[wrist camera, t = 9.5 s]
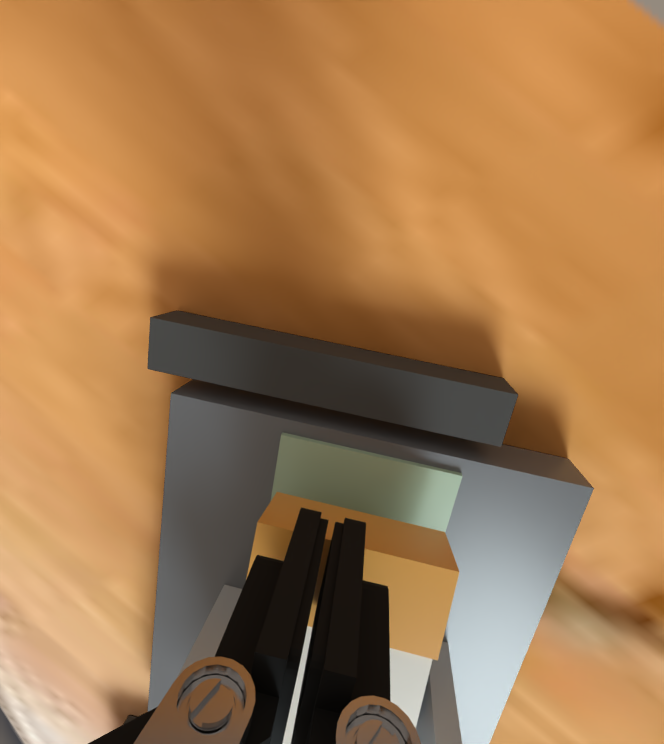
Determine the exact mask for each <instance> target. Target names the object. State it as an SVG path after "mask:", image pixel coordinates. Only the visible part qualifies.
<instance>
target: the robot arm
mask: <svg viewBox="0 0 664 744" xmlns="http://www.w3.org/2000/svg"><path fill="white" fill-rule="evenodd" d="M321 514H322V512H319V511H315V510H310V509H306V508H302V507H301V509H300V512H299V515H298V518H297V521H296V524H295V527H294V530H293V534H292V537H291V540H290V543H289V546H288V549H287V553H286V556H285V559H284V561H281V560H277V559H273V558H269V557H265V556H261V555H257V556H256V558H255V560H254V562H253V564H252V567H251V569H250V572H249V574H248V577H247V579H246V581H245V584H244V586H243V589H242V591H241V594H240V596H239V598H238V601H237V603H236V606H235V608H234V611H233V613H232V615H231V618H230V620H229V623H228V625H227V628H226V630H225V632H224V635H223V637H222V640H221V642H220V644H219V647H218V649H217V652H216V654H215V657H208V658H205V659H202V660H199V661H196V662H195V663H193V664H192V665H190V666H189V667H187V668H186V669H184V670H183V672H182V673H181V674H180V675H179V676H178V677H177V679H176V680H175V681H174V683H173V684H172V686H171V687H170V689H169V690H168V692H167V693H166V695H165V696H164V698H163V699H162V701H161V702H160V704H159V705H158V707H156V708H154V709H152V710H150V711H148V712H147V713H145V714H143V715H141V716H139V717H137V718H135V719H133V720H132V721H130V722H128V723H126V724H124V725H122V726H120V727H118V728H117V729H115V730H113V731H111V732H109V733H107V734H105V735H103V736H102V737H100V738H98V739H96V740H94V741H92V742H90V743H88V744H282V743H283V739H284V734H285V730H286V725H287V720H288V716H289V711H290V707H291V702H292V697H293V693H294V688H295V684H296V679H297V675H298V670H299V665H300V660H301V656H302V651H303V646H304V641H305V636H306V631H307V626H308V621H309V616H310V611H311V606H312V601H313V596H314V591H315V586H316V581H317V576H318V571H319V566H320V561H321V556H322V551H323V546H324V541H325V536H326V531H327V526H328V521H329V520H327V519H322V518H321ZM365 536H366V522H362V521H357V520H353V519H349V518H345V519H344V523H339V522H335V526H334V530H333V535H332V539H331V544H330V548H329V553H328V557H327V562H326V566H325V571H324V575H323V580H322V584H321V589H320V593H319V598H318V602H317V607H316V612H315V616H314V622H313V627H312V632H311V638H310V643H309V648H308V654H307V659H306V664H305V670H304V675H303V681H302V686H301V691H300V697H299V702H298V707H297V713H296V718H295V723H294V729H293V734H292V739H291V744H421V742H420V739H419V736H418V733H417V730H416V728H415V727H414V725H413V723H412V722H411V720H410V718H409V717H408V716H407V715H406V714H405V713H404V712H403V711H402V710H401V709H400V708H399V707H398V706H397V705H395V704H394V703H392V702H391V700H390V634H389V589H388V586H385V585H381V584H377V583H373V582H368V581H364V580H363V568H364V552H365Z"/></svg>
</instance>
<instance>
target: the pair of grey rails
mask: <svg viewBox="0 0 664 744" xmlns="http://www.w3.org/2000/svg"><path fill="white" fill-rule="evenodd" d="M148 369H150V370H155V371H159V372H164V373H168V374H173V375H177V376H182V377H186V378H191V379H196V380H200V381H205V382H209V383H214V384H218V385H223V386H227V387H232V388H236V389H241V390H245V391H250V392H254V393H259V394H263V395H268V396H272V397H277V398H281V399H286V400H291V401H295V402H300V403H304V404H309V405H313V406H318V407H322V408H327V409H331V410H336V411H340V412H345V413H349V414H354V415H358V416H363V417H367V418H372V419H377V420H381V421H386V422H390V423H395V424H399V425H404V426H408V427H413V428H417V429H422V430H426V431H431V432H435V433H440V434H444V435H449V436H453V437H458V438H463V439H467V440H472V441H476V442H481V443H485V444H490V445H494V446H499V447H501V446H502V443H503V440H504V437H505V434H506V431H507V427H508V424H509V421H510V418H511V415H512V412H513V409H514V406H515V403H516V400H517V397H518V394H517V393H516V392H515V391H514V389H513V388H512V387H511V386H510V385H509V384H508V383H507V382H506V380H505V379H504V378H500V377H495V376H490V375H485V374H481V373H476V372H471V371H466V370H461V369H456V368H452V367H447V366H442V365H437V364H432V363H428V362H423V361H418V360H413V359H408V358H404V357H399V356H394V355H389V354H384V353H379V352H375V351H370V350H365V349H360V348H355V347H351V346H346V345H341V344H336V343H331V342H326V341H322V340H317V339H312V338H307V337H302V336H298V335H293V334H288V333H283V332H278V331H273V330H269V329H264V328H259V327H254V326H249V325H245V324H240V323H235V322H230V321H225V320H221V319H216V318H211V317H206V316H201V315H196V314H192V313H187V312H182V311H173V312H169V313H165V314H161V315H158V316H154V317H150V333H149V351H148ZM135 718H137V717H134V716H131V715H129V716H128V717H127V719H126V721H125V723H124V724H126V723H128V722H130V721H132V720H133V719H135ZM124 724H123V725H124Z"/></svg>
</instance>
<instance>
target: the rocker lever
mask: <svg viewBox="0 0 664 744" xmlns="http://www.w3.org/2000/svg"><path fill="white" fill-rule="evenodd" d="M301 507H302V508H306V509H310V510H315V511H319V512H322V514H321V518H322V519H327V520H329V521H328V526H327V531H326V536H325V541H324V546H323V551H322V556H321V561H320V566H319V571H318V576H317V581H316V586H315V591H314V596H313V601H312V606H311V611H310V616H309V621H308V626H307V631H306V636H305V641H304V646H303V651H302V656H301V660H300V665H299V670H298V675H297V679H296V684H295V688H294V693H293V697H292V702H291V707H290V711H289V716H288V720H287V725H286V730H285V734H284V739H283V743H282V744H291V739H292V734H293V729H294V723H295V718H296V713H297V707H298V702H299V697H300V691H301V686H302V681H303V675H304V670H305V664H306V659H307V654H308V648H309V643H310V638H311V632H312V627H313V622H314V616H315V612H316V607H317V602H318V598H319V593H320V589H321V584H322V580H323V575H324V571H325V566H326V562H327V557H328V553H329V548H330V544H331V539H332V535H333V530H334V526H335V522H339V523H344V519H345V518H349V519H353V520H357V521H362V522H366V536H365V552H364V568H363V580H364V581H368V582H373V583H377V584H381V585H385V586H388V589H389V634H390V700H391V702H392V703H394V704H395V705H397V706H398V707H399V708H400V709H401V710H402V711H403V712H404V713H405V714H406V715H407V716H408V717H409V718H410V720H411V722H412V723H413V725H414V727H415V728H416V725H417V721H418V717H419V713H420V709H421V705H422V701H423V697H424V692H425V688H426V684H427V680H428V676H429V672H430V668H431V664H432V660H433V659H434V660H438V658H439V653H440V649H441V645H442V641H443V637H444V633H445V629H446V625H447V621H448V617H449V613H450V609H451V605H452V601H453V597H454V592H455V588H456V584H457V580H458V576H459V569H458V567H457V564H456V561H455V558H454V556H453V553H452V550H451V547H450V545H449V542H448V539H447V536H446V533H445V532H443V531H439V530H434V529H430V528H426V527H422V526H418V525H414V524H409V523H405V522H401V521H397V520H393V519H389V518H384V517H380V516H376V515H372V514H368V513H364V512H359V511H355V510H351V509H347V508H343V507H339V506H334V505H330V504H326V503H322V502H318V501H314V500H309V499H305V498H301V497H297V496H293V495H289V494H284V493H280V492H276V494H275V496H274V497H273V499H272V500H271V502H270V503H269V505H268V506H267V508H266V510H265V511H264V513H263V514H262V516H261V517H260V519H259V520H258V522H257V527H256V532H255V537H254V542H253V547H252V552H251V557H250V563H249V568H248V573H247V577H248V574H249V572H250V569H251V567H252V564H253V562H254V560H255V558H256V556H257V555H261V556H265V557H269V558H273V559H277V560H281V561H284V559H285V556H286V553H287V549H288V546H289V543H290V540H291V537H292V534H293V530H294V527H295V524H296V521H297V518H298V515H299V512H300V509H301ZM246 579H247V578H246Z"/></svg>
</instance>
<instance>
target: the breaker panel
mask: <svg viewBox="0 0 664 744" xmlns="http://www.w3.org/2000/svg"><path fill="white" fill-rule="evenodd" d="M593 489H594V488H593V487H592V486H591V484H590V483H589V482H588V481H587V480H586V479H585V477H584V476H583V475H582V474H581V473H580V472H579V470H578V469H577V468H576V467H575V466H574V465H573V463H572V462H571V461H570V460H569V459H567V458H563V457H558V456H554V455H549V454H545V453H540V452H535V451H531V450H526V449H522V448H517V447H513V446H508V445H504V444H502V446H501V447H499V446H494V445H490V444H485V443H481V442H476V441H472V440H467V439H463V438H458V437H453V436H449V435H444V434H440V433H435V432H431V431H426V430H422V429H417V428H413V427H408V426H404V425H399V424H395V423H390V422H386V421H381V420H377V419H372V418H367V417H363V416H358V415H354V414H349V413H345V412H340V411H336V410H331V409H327V408H322V407H318V406H313V405H309V404H304V403H300V402H295V401H291V400H286V399H281V398H277V397H272V396H268V395H263V394H259V393H254V392H250V391H245V390H241V389H236V388H232V387H227V386H223V385H218V384H214V383H209V382H205V381H200V380H196V379H193V380H191V381H190V382H188V383H186V384H185V385H183V386H182V387H180V388H179V389H177V390H175V391H174V392H172V393H171V400H170V414H169V428H168V441H167V455H166V469H165V482H164V496H163V510H162V524H161V537H160V551H159V565H158V578H157V592H156V606H155V619H154V633H153V647H152V660H151V674H150V688H149V701H148V711H150V710H152V709H154V708H156V707H158V705H159V704H160V702H161V701H162V699H163V698H164V696H165V695H166V693H167V692H168V690H169V689H170V687H171V686H172V684H173V683H174V681H175V680H176V679H177V677H178V676H179V675H180V674H181V673H182V672H183V670H184V669H186V668H187V667H189V666H190V665H192V664H193V663H195V662H196V661H199V660H202V659H205V658H208V657H215V654H216V652H217V649H218V647H219V644H220V642H221V640H222V637H223V635H224V632H225V630H226V628H227V625H228V623H229V620H230V618H231V615H232V613H233V611H234V608H235V606H236V603H237V601H238V598H239V596H240V594H241V591H242V589H243V586H244V584H245V581H246V578H247V573H248V568H249V563H250V557H251V552H252V547H253V542H254V537H255V532H256V527H257V522H258V520H259V519H260V517H261V516H262V514H263V513H264V511H265V510H266V508H267V506H268V505H269V503H270V502H271V500H272V499H273V497H274V496H275V494H276V492H280V493H284V494H289V495H293V496H297V497H301V498H305V499H309V500H314V501H318V502H322V503H326V504H330V505H334V506H339V507H343V508H347V509H351V510H355V511H359V512H364V513H368V514H372V515H376V516H380V517H384V518H389V519H393V520H397V521H401V522H405V523H409V524H414V525H418V526H422V527H426V528H430V529H434V530H439V531H443V532H445V533H446V536H447V539H448V542H449V545H450V547H451V550H452V553H453V556H454V558H455V561H456V564H457V567H458V569H459V576H458V580H457V584H456V588H455V592H454V597H453V601H452V605H451V609H450V613H449V617H448V621H447V625H446V629H445V633H444V637H443V641H442V645H441V649H440V653H439V658H438V660H434V659H433V660H432V664H431V668H430V672H429V676H428V680H427V684H426V688H425V692H424V697H423V701H422V705H421V709H420V713H419V717H418V721H417V725H416V730H417V733H418V736H419V739H420V742H421V744H489V743H490V740H491V738H492V735H493V733H494V730H495V728H496V726H497V723H498V721H499V718H500V716H501V713H502V711H503V709H504V706H505V704H506V701H507V699H508V696H509V694H510V691H511V689H512V687H513V684H514V682H515V679H516V677H517V674H518V672H519V670H520V667H521V665H522V662H523V660H524V657H525V655H526V652H527V650H528V648H529V645H530V643H531V640H532V638H533V635H534V633H535V630H536V628H537V626H538V623H539V621H540V618H541V616H542V613H543V611H544V609H545V606H546V604H547V601H548V599H549V596H550V594H551V591H552V589H553V587H554V584H555V582H556V579H557V577H558V574H559V572H560V570H561V567H562V565H563V562H564V560H565V557H566V555H567V552H568V550H569V548H570V545H571V543H572V540H573V538H574V535H575V533H576V531H577V528H578V526H579V523H580V521H581V518H582V516H583V513H584V511H585V509H586V506H587V504H588V501H589V499H590V496H591V494H592V491H593Z"/></svg>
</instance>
